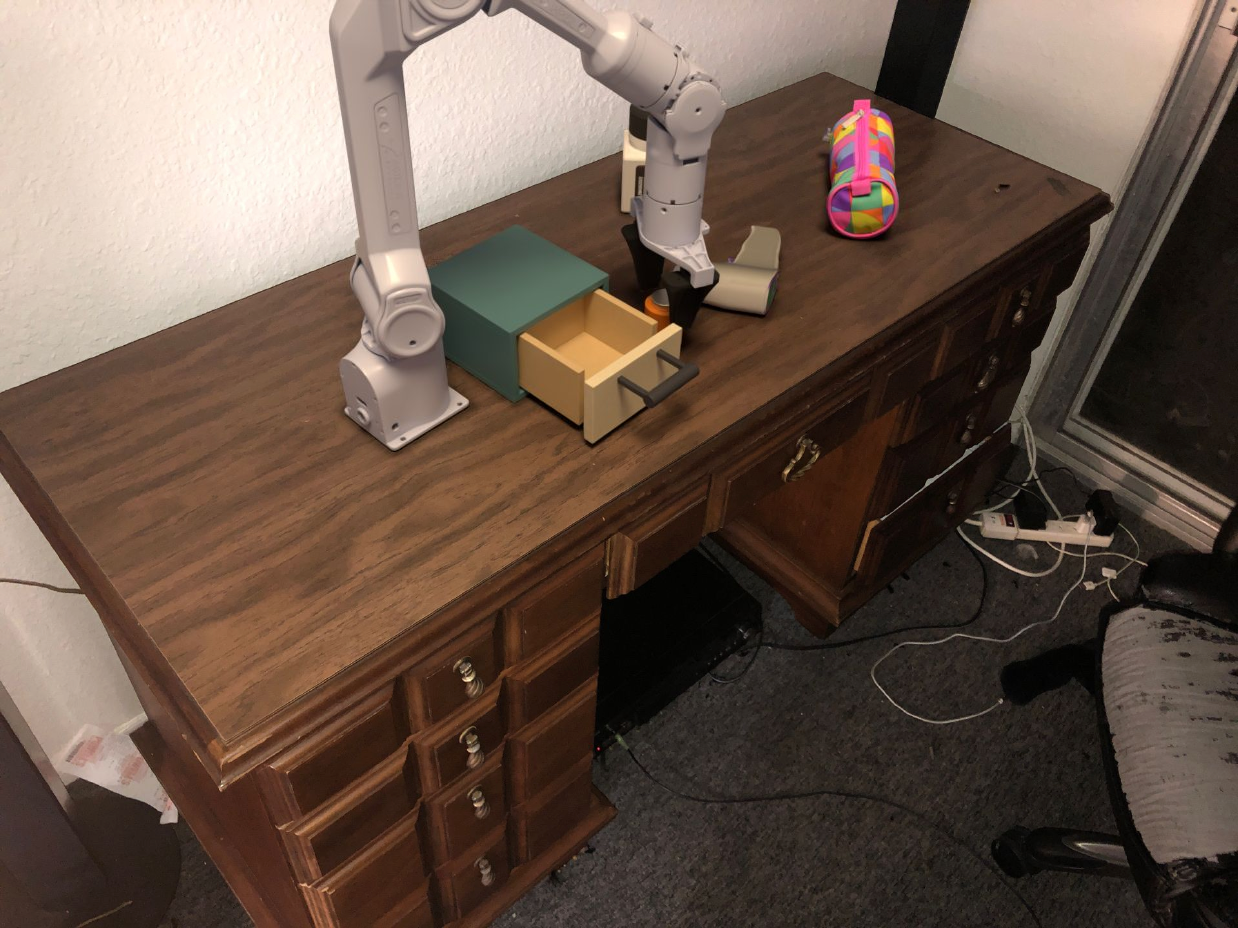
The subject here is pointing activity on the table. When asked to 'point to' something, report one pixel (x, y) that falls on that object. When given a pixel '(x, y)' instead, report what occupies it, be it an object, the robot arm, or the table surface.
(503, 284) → the cabinet
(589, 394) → the drawer
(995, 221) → the table surface
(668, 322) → the orange cylinder
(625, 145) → the container
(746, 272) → the infrared thermometer
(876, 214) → the pencil case
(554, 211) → the table surface
